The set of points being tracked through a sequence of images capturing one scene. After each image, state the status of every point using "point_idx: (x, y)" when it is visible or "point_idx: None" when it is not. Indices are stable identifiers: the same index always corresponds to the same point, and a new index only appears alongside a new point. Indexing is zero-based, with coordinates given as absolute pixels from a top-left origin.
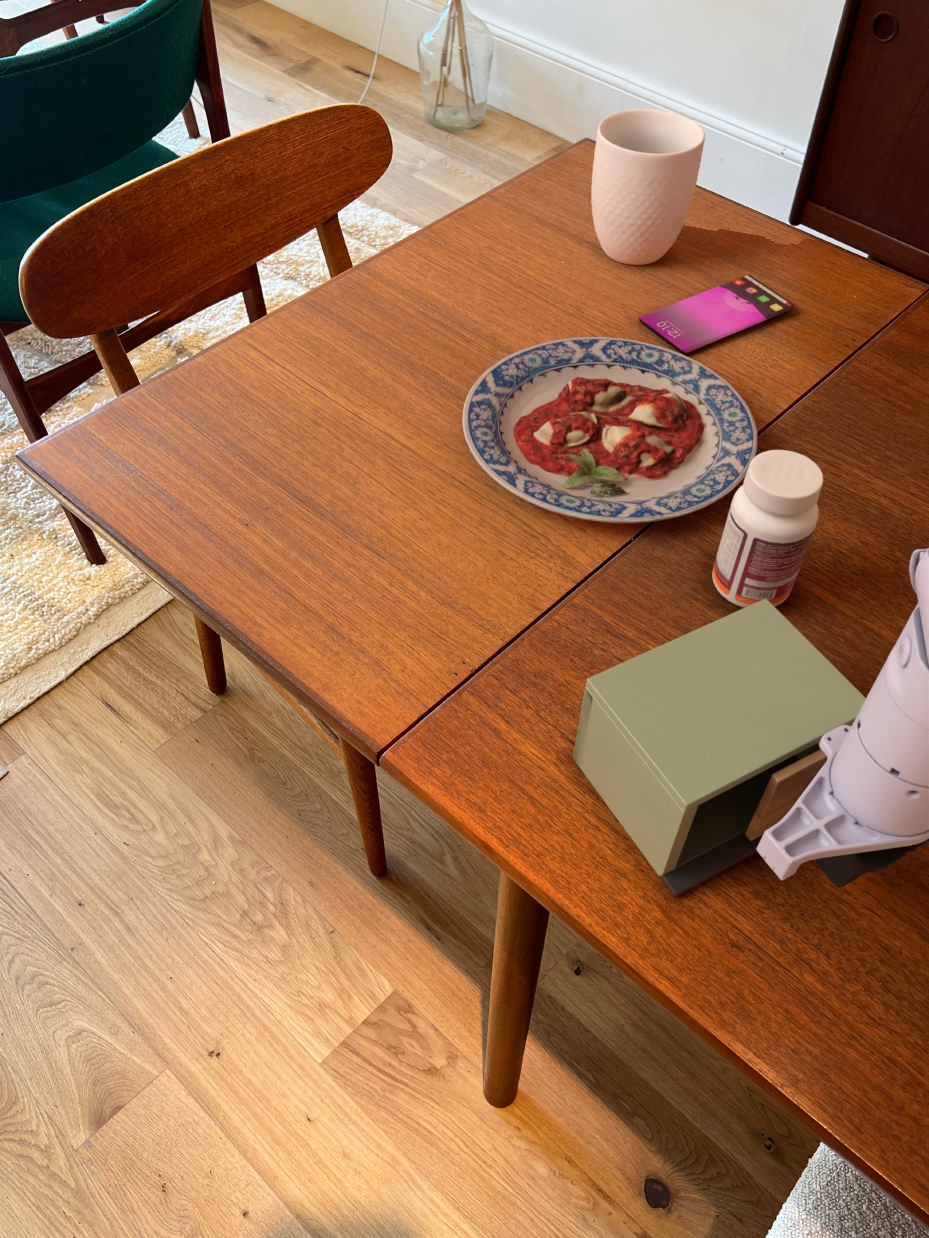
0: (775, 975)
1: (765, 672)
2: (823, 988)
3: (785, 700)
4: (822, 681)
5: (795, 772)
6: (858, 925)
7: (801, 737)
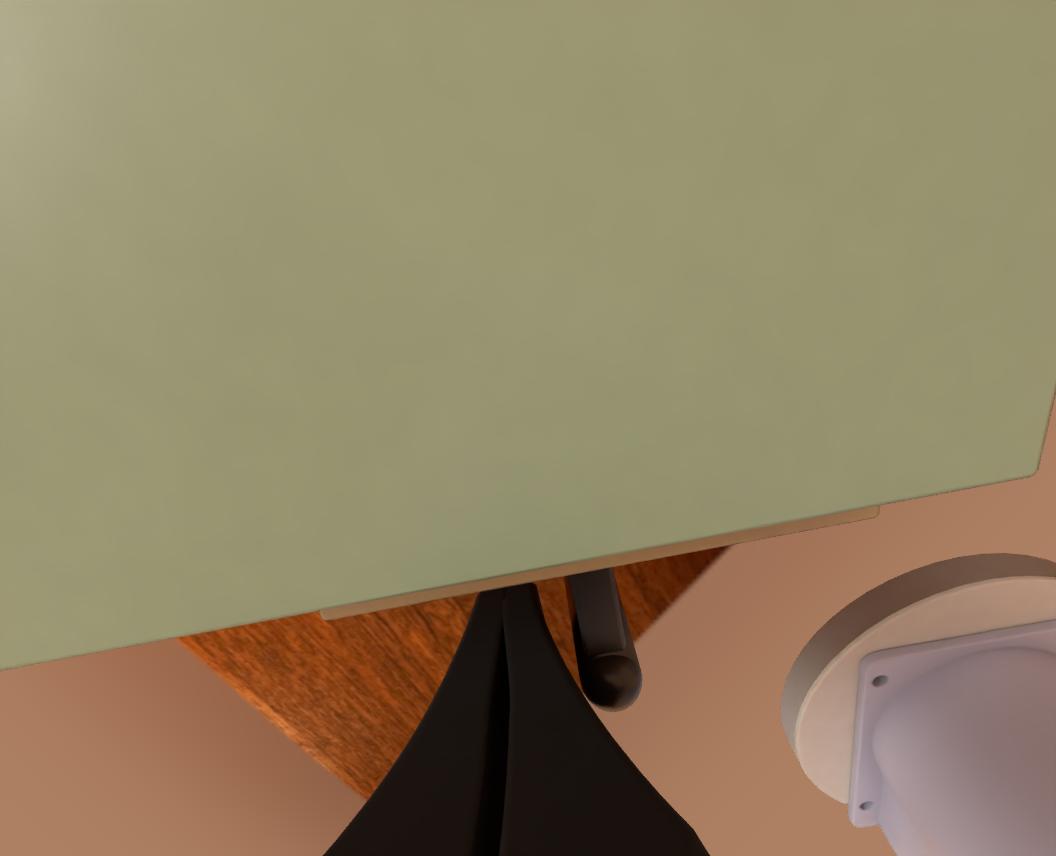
0: (357, 624)
1: None
2: (434, 656)
3: (546, 271)
4: (921, 186)
5: (419, 602)
6: (559, 587)
7: (498, 541)
